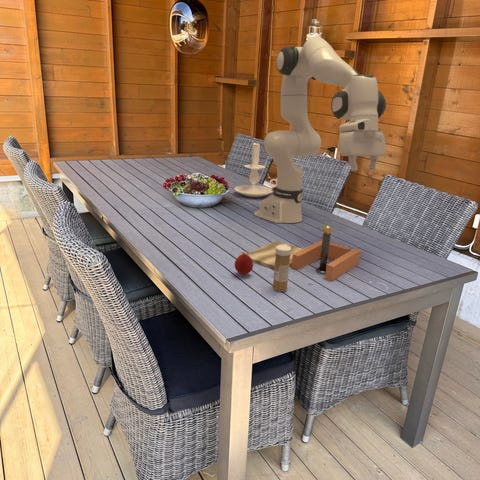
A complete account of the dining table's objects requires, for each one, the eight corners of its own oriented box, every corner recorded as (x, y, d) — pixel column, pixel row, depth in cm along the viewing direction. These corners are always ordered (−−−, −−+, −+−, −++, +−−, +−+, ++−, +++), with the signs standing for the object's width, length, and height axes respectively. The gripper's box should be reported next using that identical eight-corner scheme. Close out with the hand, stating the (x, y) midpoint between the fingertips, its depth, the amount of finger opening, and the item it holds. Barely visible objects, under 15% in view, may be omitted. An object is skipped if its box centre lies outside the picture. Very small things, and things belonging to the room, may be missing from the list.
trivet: (242, 258, 159) (242, 255, 158) (275, 243, 174) (276, 240, 174) (280, 271, 149) (280, 268, 149) (312, 254, 165) (312, 251, 165)
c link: (320, 252, 168) (321, 239, 166) (358, 263, 159) (360, 250, 157) (291, 268, 153) (292, 254, 151) (331, 281, 144) (333, 266, 142)
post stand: (313, 271, 151) (318, 225, 145) (319, 267, 154) (325, 222, 149) (325, 275, 148) (330, 228, 143) (331, 271, 152) (337, 225, 146)
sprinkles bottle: (271, 285, 139) (274, 244, 135) (286, 285, 140) (289, 244, 135) (273, 292, 135) (277, 249, 130) (288, 292, 135) (292, 250, 131)
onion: (251, 272, 148) (253, 249, 145) (252, 279, 143) (254, 255, 140) (233, 271, 148) (234, 248, 145) (234, 279, 142) (235, 255, 140)
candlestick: (286, 198, 241) (290, 145, 231) (243, 201, 231) (246, 145, 222) (268, 189, 258) (272, 139, 249) (228, 191, 249) (230, 139, 239)
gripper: (374, 129, 154) (373, 170, 156) (335, 126, 141) (335, 171, 143) (390, 127, 149) (390, 169, 151) (352, 123, 137) (352, 170, 138)
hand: (363, 170), depth 147 cm, fingers open, 8 cm apart
